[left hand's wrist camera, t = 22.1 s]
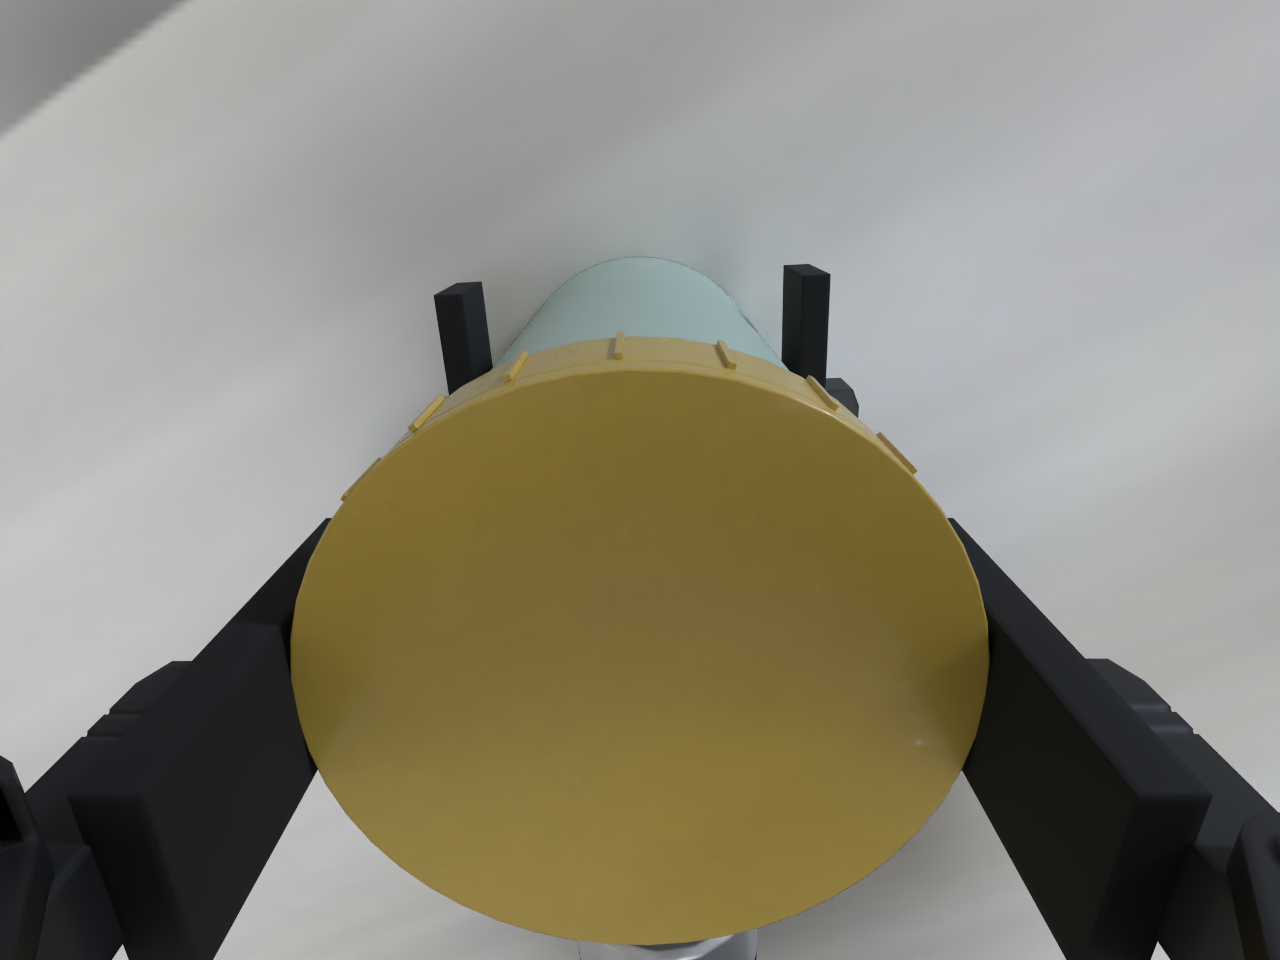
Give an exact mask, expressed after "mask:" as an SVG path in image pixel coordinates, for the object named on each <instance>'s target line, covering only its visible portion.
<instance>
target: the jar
mask: <svg viewBox="0 0 1280 960" xmlns="http://www.w3.org/2000/svg"><path fill="white" fill-rule="evenodd" d="M619 331H624V332H625V337H626V336H640V337H668V338H679V339H685V340H691V341H697V342H703V343H709V344H715V345H716V344H717V340H722V341H725V343H726V345H727V347H728V348H730V349H733V350H736V351H740V352H743V353H746V354H749V355H753V356H756V357H759V358H762V359H764V360H766V361H769V362H771V363H773V364H775V365H777V366H779V367H781V368H784V369H786V370H788V369H787V368H786V366H785V365H784V364H783V363H782V361H781V360H780V359H779V358H778V356H777V355H776V354H775V353H774V351H773V350H772V349H771V348H770V346H769V345H768V344H767V343H766V341H765V340H764V339H763V338H762V337H761V335H760V334H759V333H758V332H757V330H756V329H755V328H754V327H753V325H752V324H751V323H750V322H749V320H748V319H747V318H746V317H745V315H744V314H743V313H742V312H741V310H740V309H739V308H738V307H737V305H736V304H735V303H734V302H733V301H732V299H731V298H730V297H729V296H728V295H727V294H726V293H725V292H724V291H723V290H722V289H721V288H720V287H719V286H717V285H716V284H715V283H714V282H712V281H711V280H710V279H708V278H707V277H705V276H704V275H702V274H700V273H698V272H697V271H695V270H693V269H691V268H688V267H686V266H683V265H681V264H679V263H675V262H671V261H667V260H663V259H656V258H648V257H633V258H623V259H617V260H612V261H608V262H605V263H602V264H598V265H596V266H593V267H591V268H589V269H587V270H585V271H583V272H581V273H579V274H578V275H576V276H575V277H573V278H571V279H570V280H568V281H567V282H566V283H565V284H564V285H562V286H561V287H560V288H559V289H558V290H556V291H555V292H554V294H553V295H552V296H551V297H550V298H549V299H548V300H547V301H546V303H545V304H544V305H543V306H542V307H541V309H540V310H539V311H538V312H537V314H536V315H535V316H534V317H533V319H532V320H531V321H530V322H529V324H528V325H527V326H526V327H525V329H524V330H523V331H522V332H521V334H520V335H519V336H518V337H517V338H516V340H515V341H514V342H513V343H512V345H511V346H510V347H509V348H508V350H507V351H506V352H505V353H504V355H503V356H502V357H501V358H500V360H499V361H498V362H497V363H496V365H495V366H494V367H493V368H492V370H493V369H495V368H497V367H499V366H501V365H504V364H506V363H509V362H512V361H514V359H515V358H516V357H517V355H518V354H519V352H521V351H524V350H527V353H528V355H530V354H533V353H535V352H538V351H541V350H545V349H549V348H554V347H558V346H562V345H567V344H571V343H575V342H580V341H584V340H594V339H605V338H615V337H616V336H617V332H619ZM788 371H789V370H788Z"/></svg>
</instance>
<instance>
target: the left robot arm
mask: <svg viewBox="0 0 1280 960" xmlns="http://www.w3.org/2000/svg"><path fill="white" fill-rule="evenodd" d="M331 519H332V518H326V519H325V520H324V521H323V522H322V523H321V524H320V525H319V527H318V528H317V529H316V530H315V531H314V532H313V533H312V534H311V535H310V536H309V537H308V538H307V539H306V540H305V541H304V542H303V544H302V545H301V546H300V547H299V548H298V549H297V550H296V551H295V552H294V553H293V554H292V555H291V556H290V557H289V558H288V559H287V561H286V562H285V563H284V564H283V565H282V566H281V567H280V568H279V569H278V570H277V571H276V572H275V573H274V574H273V575H272V577H271V578H270V579H269V580H268V581H267V582H266V583H265V584H264V585H263V586H262V587H261V588H260V589H259V590H258V591H257V592H256V594H255V595H254V596H253V597H252V598H251V599H250V600H249V601H248V602H247V603H246V604H245V605H244V606H243V607H242V608H241V609H240V611H239V612H238V613H237V614H236V615H235V616H234V617H233V618H232V619H231V620H230V621H229V622H228V623H227V624H226V625H225V626H224V628H223V629H222V630H221V631H220V632H219V633H218V634H217V635H216V636H215V637H214V638H213V639H212V640H211V641H210V642H209V644H208V645H207V646H206V647H205V648H204V649H203V650H202V651H201V652H200V653H199V654H198V655H197V656H196V657H195V658H194V659H193V661H172V662H170V663H169V664H167V665H165V666H164V667H162V668H160V669H159V670H157V671H155V672H154V673H152V674H150V675H149V676H147V677H146V678H144V679H142V680H141V681H139V682H137V683H136V684H135V685H134V686H133V687H132V688H131V689H130V690H129V691H128V692H127V693H126V694H125V695H124V696H123V697H122V698H121V699H120V700H119V701H118V702H116V703H115V704H114V705H113V706H112V707H111V708H110V709H109V710H110V712H109V714H108V715H103V716H102V717H101V718H100V719H99V720H98V721H97V722H96V723H95V724H94V725H93V726H92V727H91V728H90V729H89V730H88V731H87V732H88V734H87V736H86V737H81V738H80V739H79V740H78V741H77V742H76V743H75V744H74V745H73V746H72V747H71V748H70V749H69V750H68V751H67V752H66V753H65V754H64V755H63V756H62V757H61V758H60V759H59V760H58V761H57V762H56V763H55V764H54V765H53V766H52V767H51V768H50V769H49V770H48V771H47V772H46V773H45V774H44V775H43V776H42V777H41V778H40V779H39V780H38V781H37V782H36V783H35V784H34V785H33V786H32V787H31V788H30V789H29V790H28V791H27V792H26V793H24V790H23V788H22V786H21V783H20V781H19V778H18V776H17V773H16V771H15V768H14V766H13V764H12V762H10V761H9V760H7V759H5V758H4V757H2V756H0V960H112V959H113V957H114V956H115V954H116V953H117V951H118V950H119V948H120V947H121V945H122V944H123V946H124V948H125V951H126V953H127V956H128V959H129V960H213V959H214V957H215V955H216V953H217V952H218V950H219V948H220V946H221V944H222V943H223V941H224V939H225V937H226V935H227V933H228V932H229V930H230V928H231V926H232V924H233V923H234V921H235V919H236V917H237V915H238V913H239V912H240V910H241V908H242V906H243V904H244V903H245V901H246V899H247V897H248V895H249V893H250V892H251V890H252V888H253V886H254V884H255V883H256V881H257V879H258V877H259V875H260V874H261V872H262V870H263V868H264V866H265V864H266V863H267V861H268V859H269V857H270V855H271V854H272V852H273V850H274V848H275V846H276V844H277V843H278V841H279V839H280V837H281V835H282V834H283V832H284V830H285V828H286V826H287V824H288V823H289V821H290V819H291V817H292V815H293V814H294V812H295V810H296V808H297V806H298V804H299V803H300V801H301V799H302V797H303V795H304V794H305V792H306V790H307V788H308V786H309V784H310V783H311V781H312V779H313V777H314V775H315V774H316V772H317V770H318V768H317V766H316V764H315V762H314V760H313V758H312V756H311V754H310V752H309V750H308V747H307V744H306V741H305V738H304V735H303V732H302V728H301V724H300V720H299V716H298V711H297V707H296V702H295V697H294V692H293V687H292V682H291V661H290V638H291V631H292V624H293V618H294V611H295V605H296V599H297V596H298V593H299V590H300V587H301V584H302V581H303V578H304V574H305V571H306V568H307V565H308V562H309V560H310V558H311V556H312V554H313V552H314V550H315V548H316V546H317V544H318V542H319V540H320V539H321V537H322V535H323V533H324V531H325V529H326V527H327V525H328V523H329V522H330V520H331ZM947 519H948V520H949V522H950V524H951V525H952V527H953V529H954V530H955V532H956V534H957V535H958V537H959V538H960V540H961V542H962V543H963V545H964V548H965V550H966V553H967V555H968V558H969V560H970V563H971V565H972V568H973V570H974V573H975V575H976V577H977V580H978V582H979V587H980V591H981V596H982V600H983V604H984V609H985V613H986V617H987V624H988V640H989V656H990V664H989V674H988V683H987V688H986V694H985V699H984V704H983V708H982V712H981V717H980V721H979V726H978V730H977V734H976V738H975V740H974V742H973V745H972V747H971V749H970V752H969V754H968V756H967V759H966V761H965V763H964V766H963V768H962V771H963V773H964V774H965V776H966V778H967V780H968V782H969V784H970V785H971V787H972V789H973V791H974V793H975V794H976V796H977V798H978V800H979V802H980V804H981V805H982V807H983V809H984V811H985V813H986V814H987V816H988V818H989V820H990V822H991V823H992V825H993V827H994V829H995V831H996V833H997V834H998V836H999V838H1000V840H1001V842H1002V843H1003V845H1004V847H1005V849H1006V851H1007V853H1008V854H1009V856H1010V858H1011V860H1012V862H1013V863H1014V865H1015V867H1016V869H1017V871H1018V873H1019V874H1020V876H1021V878H1022V880H1023V882H1024V883H1025V885H1026V887H1027V889H1028V891H1029V893H1030V894H1031V896H1032V898H1033V900H1034V902H1035V903H1036V905H1037V907H1038V909H1039V911H1040V913H1041V914H1042V916H1043V918H1044V920H1045V922H1046V923H1047V925H1048V927H1049V929H1050V931H1051V932H1052V934H1053V936H1054V938H1055V940H1056V942H1057V943H1058V945H1059V947H1060V949H1061V951H1062V952H1063V954H1064V956H1065V958H1066V960H1151V957H1152V954H1153V952H1154V949H1155V947H1156V944H1157V941H1158V942H1159V944H1160V945H1161V947H1162V948H1163V950H1164V951H1165V952H1166V954H1167V955H1168V957H1169V958H1170V960H1280V813H1279V812H1277V811H1276V810H1275V809H1274V808H1273V807H1272V806H1271V805H1270V804H1269V803H1268V802H1267V801H1266V800H1265V799H1264V798H1263V797H1262V796H1261V795H1260V794H1259V793H1258V792H1257V791H1256V790H1255V789H1254V788H1253V787H1252V786H1251V785H1250V784H1249V783H1248V782H1247V781H1246V780H1245V779H1244V778H1243V777H1242V776H1241V775H1240V774H1239V773H1238V772H1237V771H1236V770H1235V769H1233V768H1232V767H1231V766H1230V765H1229V764H1228V763H1227V762H1226V761H1225V760H1224V759H1223V758H1222V757H1221V756H1220V755H1219V754H1218V753H1217V752H1216V751H1215V750H1214V749H1213V748H1212V747H1211V746H1210V745H1209V744H1208V743H1207V742H1206V741H1205V740H1204V739H1203V738H1202V737H1201V736H1200V735H1199V734H1194V733H1193V728H1192V727H1191V726H1190V725H1189V724H1188V723H1187V722H1186V721H1185V720H1184V719H1183V718H1182V717H1181V716H1180V715H1179V714H1178V713H1177V712H1172V711H1171V707H1170V706H1169V705H1168V704H1167V703H1166V702H1165V701H1164V700H1163V699H1162V698H1161V697H1160V696H1159V695H1158V694H1157V693H1156V692H1155V691H1154V690H1153V689H1152V688H1151V687H1150V686H1149V685H1148V684H1147V683H1146V682H1145V681H1144V680H1142V679H1140V678H1139V677H1137V676H1135V675H1134V674H1132V673H1130V672H1129V671H1127V670H1126V669H1124V668H1122V667H1121V666H1119V665H1117V664H1116V663H1114V662H1112V661H1111V660H1109V659H1085V658H1084V657H1083V656H1082V655H1081V654H1080V653H1079V652H1078V650H1077V649H1076V648H1075V647H1074V646H1073V645H1072V644H1071V643H1070V642H1069V641H1068V640H1067V639H1066V638H1065V637H1064V636H1063V634H1062V633H1061V632H1060V631H1059V630H1058V629H1057V628H1056V627H1055V626H1054V625H1053V624H1052V623H1051V622H1050V621H1049V620H1048V619H1047V617H1046V616H1045V615H1044V614H1043V613H1042V612H1041V611H1040V610H1039V609H1038V608H1037V607H1036V606H1035V605H1034V604H1033V603H1032V602H1031V600H1030V599H1029V598H1028V597H1027V596H1026V595H1025V594H1024V593H1023V592H1022V591H1021V590H1020V589H1019V588H1018V587H1017V586H1016V585H1015V583H1014V582H1013V581H1012V580H1011V579H1010V578H1009V577H1008V576H1007V575H1006V574H1005V573H1004V572H1003V571H1002V570H1001V569H1000V567H999V566H998V565H997V564H996V563H995V562H994V561H993V560H992V559H991V558H990V557H989V556H988V555H987V554H986V553H985V552H984V550H983V549H982V548H981V547H980V546H979V545H978V544H977V543H976V542H975V541H974V540H973V539H972V538H971V537H970V536H969V535H968V533H967V532H966V531H965V530H964V529H963V528H962V527H961V526H960V525H959V524H958V523H957V522H956V521H955V520H954V519H953V518H947Z"/></svg>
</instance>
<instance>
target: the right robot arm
mask: <svg viewBox="0 0 1280 960" xmlns="http://www.w3.org/2000/svg"><path fill="white" fill-rule="evenodd" d="M829 295H830V274H829V273H827V272H825V271H822V270H820V269H818V268H816V267H814V266H812V265H810V264H801V265H784V274H783V322H782V363H783V364H784V365H785V366H786V368H787V369H788V370H789V371H790V372H792V373H794V374H796V375H799V376H801V377H803V378H804V379H806V378H807V377H808V375H810V376H812V377H813V378H815V379H816V380H817V382H818V383H819V384H820V385H821V386H822V387H823V388H824V389H825V390H826V392H827V393H828V394H829V395H830V396H832V397H833V398H835V399H836V400H838V401H839V402H840V403H841V404H842V405H843V406H845V407H846V408H847V409H848V410H849V411H850V412H851V413H853V414H854V415H855V416H856V417H857V418H858V410H859V405H858V402H857V400H856V397H855V394H854V391H853V389H852V388H851V387H850V386H849V385H848V384H847V383H846V382H844V381H843V380H842V379H841V378H827V379H826V363H827V341H828V318H829ZM434 300H435V307H436V313H437V320H438V326H439V333H440V339H441V346H442V352H443V359H444V365H445V372H446V378H447V385H448V391H449V396H450V395H451V394H452V393H454V392H455V391H456V390H458V389H459V388H460V387H462V386H464V385H466V384H467V383H469V382H471V381H473V380H475V379H477V378H478V377H480V376H482V375H484V374H486V373H488V372H489V371H491V370H492V368H493V366H492V358H491V350H490V343H489V335H488V327H487V320H486V312H485V304H484V296H483V289H482V282H466V283H456V284H454V285H452V286H450V287H449V288H447V289H445V290H443V291H441V292H439V293H437V294H435V295H434ZM446 398H447V397H446ZM446 398H445V399H446ZM757 939H758V928H756V929H752V930H748V931H744V932H741V933H737V934H733V935H729V936H725V937H719V938H712V939H706V940H700V941H694V942H687V943H673V944H658V945H623V944H604V943H596V942H587V941H578V945H579V954H580V959H581V960H756V948H757Z"/></svg>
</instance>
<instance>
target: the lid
mask: <svg viewBox="0 0 1280 960" xmlns="http://www.w3.org/2000/svg"><path fill="white" fill-rule="evenodd" d="M408 428H409V431H408V432H407V433H406V434H405V435H404V436H403V437H402V438H401V439H400V440H399V441H398V442H397V443H396V444H395V445H394V446H393V448H392V449H391V450H390V451H389V452H388V453H387V454H386V455H385V456H384V457H383V458H382V459H381V458H378V459H377V460H376V461H375V462H374V463H373V464H372V465H371V466H370V467H369V468H368V469H367V470H366V472H365V473H364V474H363V475H362V476H361V477H360V478H359V479H358V480H357V481H356V482H355V483H354V484H353V485H352V486H351V487H350V488H349V489H348V490H347V491H346V492H345V493H344V495H343V496H342V498H341V500H342V501H344V503H343V504H342V506H341V507H340V508H339V510H338V511H337V512H336V514H335V515H334V516H333V518H332V519H331V520H330V522H329V523H328V525H327V527H326V529H325V531H324V533H323V535H322V537H321V539H320V540H319V542H318V544H317V546H316V548H315V550H314V552H313V554H312V556H311V558H310V560H309V562H308V565H307V568H306V571H305V574H304V578H303V581H302V584H301V587H300V590H299V593H298V596H297V599H296V605H295V611H294V618H293V624H292V631H291V638H290V661H291V682H292V687H293V692H294V697H295V702H296V707H297V711H298V716H299V720H300V724H301V728H302V732H303V735H304V738H305V741H306V744H307V747H308V750H309V752H310V754H311V756H312V758H313V760H314V762H315V764H316V766H317V768H318V770H319V772H320V774H321V776H322V778H323V780H324V782H325V784H326V785H327V787H328V788H329V790H330V791H331V793H332V794H333V795H334V797H335V798H336V800H337V801H338V803H339V804H340V806H341V807H342V808H343V810H344V811H345V813H346V814H347V815H348V817H349V818H350V819H351V820H352V821H353V822H354V823H355V824H356V825H357V827H358V828H359V829H360V830H361V831H362V832H363V833H364V834H365V835H366V837H367V838H368V839H369V840H370V841H371V842H372V843H373V844H374V845H375V846H377V847H378V848H379V849H380V850H381V851H382V852H383V853H385V854H386V855H387V856H388V857H389V858H390V859H391V860H393V861H394V862H395V863H396V864H397V865H398V866H399V867H401V868H402V869H404V870H405V871H407V872H408V873H410V874H411V875H412V876H414V877H415V878H417V879H418V880H420V881H421V882H422V883H424V884H425V885H427V886H428V887H430V888H431V889H433V890H435V891H437V892H439V893H441V894H442V895H444V896H446V897H448V898H450V899H452V900H453V901H455V902H457V903H459V904H461V905H463V906H465V907H467V908H469V909H472V910H474V911H477V912H479V913H481V914H484V915H486V916H488V917H491V918H493V919H496V920H498V921H501V922H504V923H508V924H511V925H514V926H517V927H520V928H524V929H527V930H530V931H533V932H537V933H542V934H547V935H552V936H556V937H561V938H566V939H571V940H578V941H587V942H596V943H604V944H623V945H658V944H673V943H687V942H694V941H700V940H706V939H712V938H719V937H725V936H729V935H733V934H737V933H741V932H744V931H748V930H752V929H756V928H760V927H763V926H766V925H769V924H772V923H774V922H777V921H780V920H783V919H786V918H788V917H791V916H794V915H797V914H799V913H801V912H803V911H805V910H807V909H809V908H812V907H814V906H816V905H818V904H820V903H822V902H824V901H826V900H828V899H830V898H832V897H834V896H836V895H837V894H839V893H840V892H842V891H844V890H845V889H847V888H849V887H850V886H852V885H854V884H855V883H857V882H859V881H860V880H862V879H863V878H865V877H866V876H867V875H869V874H870V873H871V872H873V871H874V870H875V869H876V868H878V867H879V866H880V865H882V864H883V863H884V862H886V861H887V860H888V859H889V858H891V857H892V856H893V855H894V854H895V853H896V852H897V851H898V850H899V849H900V848H901V847H903V846H904V845H905V844H906V843H907V842H908V841H909V840H910V839H911V838H912V837H913V836H914V835H915V834H916V833H917V832H918V831H919V830H920V829H921V828H922V826H923V825H924V824H925V823H926V821H927V820H928V819H929V818H930V816H931V815H932V814H933V813H934V811H935V810H936V809H937V808H938V806H939V805H940V804H941V803H942V801H943V800H944V798H945V797H946V795H947V793H948V792H949V790H950V788H951V787H952V785H953V783H954V782H955V780H956V778H957V777H958V775H959V773H960V772H961V770H962V768H963V766H964V763H965V761H966V759H967V756H968V754H969V752H970V749H971V747H972V745H973V742H974V740H975V738H976V734H977V730H978V726H979V721H980V717H981V712H982V708H983V704H984V699H985V694H986V688H987V683H988V674H989V664H990V656H989V640H988V624H987V617H986V613H985V609H984V604H983V600H982V596H981V591H980V587H979V582H978V580H977V577H976V575H975V573H974V570H973V568H972V565H971V563H970V560H969V558H968V555H967V553H966V550H965V548H964V545H963V543H962V542H961V540H960V538H959V537H958V535H957V534H956V532H955V530H954V529H953V527H952V525H951V524H950V522H949V520H948V519H947V517H946V516H945V514H944V512H943V511H942V509H941V507H940V506H939V505H938V504H937V503H936V501H935V500H934V499H933V498H932V497H931V495H930V494H929V493H928V492H927V491H926V490H925V488H924V487H923V486H922V485H921V484H920V483H919V481H918V480H917V479H916V478H915V477H914V475H913V474H914V473H915V472H917V469H916V468H915V467H914V466H913V465H912V464H911V463H910V462H909V461H908V460H907V459H906V458H905V457H904V456H903V455H902V454H901V453H900V452H899V451H898V450H897V449H896V448H895V447H894V446H893V444H892V443H891V442H890V441H889V440H888V439H887V438H886V437H885V436H884V435H883V434H882V433H881V432H879V433H878V434H877V435H875V434H874V433H873V432H872V431H871V430H870V429H869V428H868V427H867V426H866V425H865V424H864V423H863V422H862V421H861V420H859V419H858V418H857V417H856V416H855V415H854V414H853V413H851V412H850V411H849V410H848V409H847V408H846V407H845V406H843V405H842V404H841V403H840V402H839V401H838V400H836V399H835V398H833V397H832V396H830V395H829V394H828V393H827V392H826V390H825V389H824V388H823V387H822V386H821V385H820V384H819V383H818V382H817V380H816V379H815V378H813V377H812V376H810V375H808V377H807V378H806V379H804V378H803V377H801V376H799V375H796V374H794V373H792V372H790V371H788V370H786V369H784V368H781V367H779V366H777V365H775V364H773V363H771V362H769V361H766V360H764V359H762V358H759V357H756V356H753V355H749V354H746V353H743V352H740V351H736V350H733V349H730V348H728V347H727V345H726V343H725V341H722V340H717V344H716V345H715V344H709V343H703V342H697V341H691V340H685V339H679V338H668V337H640V336H626V337H625V332H624V331H619V332H617V336H616V337H615V338H605V339H594V340H584V341H580V342H575V343H571V344H567V345H562V346H558V347H554V348H549V349H545V350H541V351H538V352H535V353H533V354H530V355H528V353H527V350H524V351H521V352H519V354H518V355H517V357H516V358H515V359H514V361H512V362H509V363H506V364H504V365H501V366H499V367H497V368H495V369H493V370H491V371H489V372H488V373H486V374H484V375H482V376H480V377H478V378H477V379H475V380H473V381H471V382H469V383H467V384H466V385H464V386H462V387H460V388H459V389H458V390H456V391H455V392H454V393H452V394H451V395H450V396H448V397H447V398H446V399H445V398H444V397H443V395H442V394H441V395H439V396H438V397H437V398H436V399H435V400H434V401H433V402H432V403H431V404H430V405H429V406H428V407H427V408H426V409H425V410H424V411H423V412H422V413H421V414H420V415H419V416H418V418H417V419H416V420H415V421H414V422H413V423H412V424H411V425H410V426H409V427H408Z"/></svg>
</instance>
